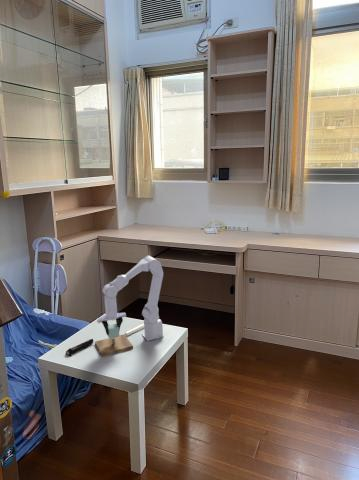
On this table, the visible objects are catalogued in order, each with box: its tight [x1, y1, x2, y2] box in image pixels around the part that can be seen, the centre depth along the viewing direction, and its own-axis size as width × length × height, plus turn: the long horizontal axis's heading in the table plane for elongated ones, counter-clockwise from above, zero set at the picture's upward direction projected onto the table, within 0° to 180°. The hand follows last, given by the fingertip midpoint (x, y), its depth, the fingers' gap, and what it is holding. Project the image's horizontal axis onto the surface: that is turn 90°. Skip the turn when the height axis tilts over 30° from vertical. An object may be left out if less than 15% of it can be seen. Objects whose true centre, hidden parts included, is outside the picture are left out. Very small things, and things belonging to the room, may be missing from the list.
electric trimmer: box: [65, 338, 94, 357], centre depth 180 cm, size 4×16×3 cm, turn 140°
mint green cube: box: [107, 323, 120, 339], centre depth 180 cm, size 5×5×5 cm
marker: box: [124, 323, 144, 337], centre depth 199 cm, size 3×2×16 cm
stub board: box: [94, 334, 134, 358], centre depth 182 cm, size 16×14×4 cm
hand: (112, 332), depth 181 cm, fingers closed on mint green cube, 5 cm apart
